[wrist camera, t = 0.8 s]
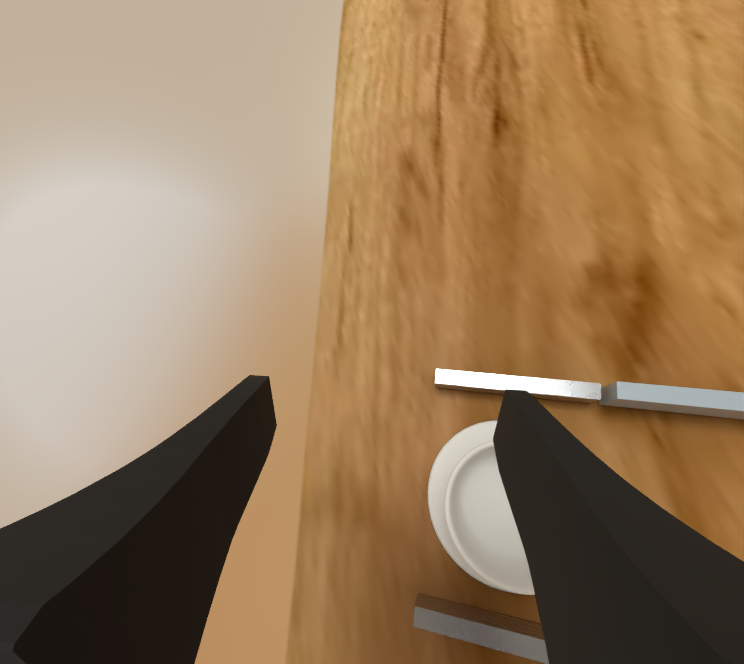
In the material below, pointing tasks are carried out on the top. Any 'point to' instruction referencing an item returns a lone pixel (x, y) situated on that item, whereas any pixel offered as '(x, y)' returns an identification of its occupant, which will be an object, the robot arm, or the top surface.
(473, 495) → the teacup
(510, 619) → the slot rails
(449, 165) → the top surface
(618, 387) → the blue-gray u-shaped frame
